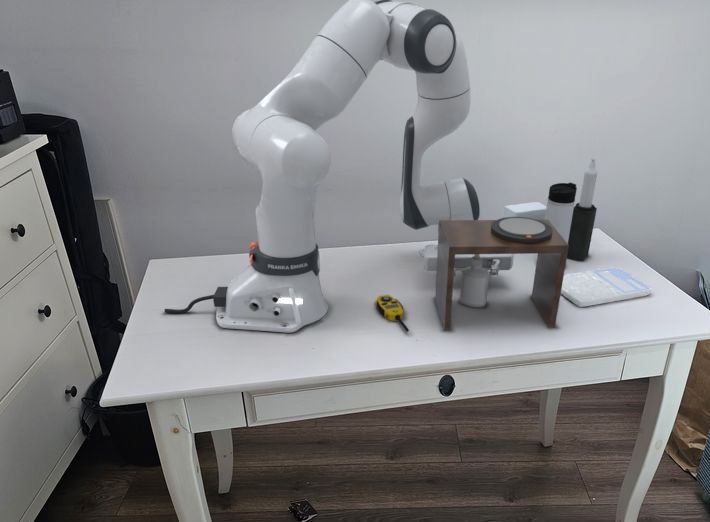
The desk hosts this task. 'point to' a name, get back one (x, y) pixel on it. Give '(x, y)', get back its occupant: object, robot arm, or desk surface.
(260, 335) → the desk surface
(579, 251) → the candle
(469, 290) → the eye dropper bottle
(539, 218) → the cosmetics box
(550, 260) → the desk shelf
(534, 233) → the hot plate
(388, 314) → the yellow walkie talkie
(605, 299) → the calculator
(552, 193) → the travel mug
